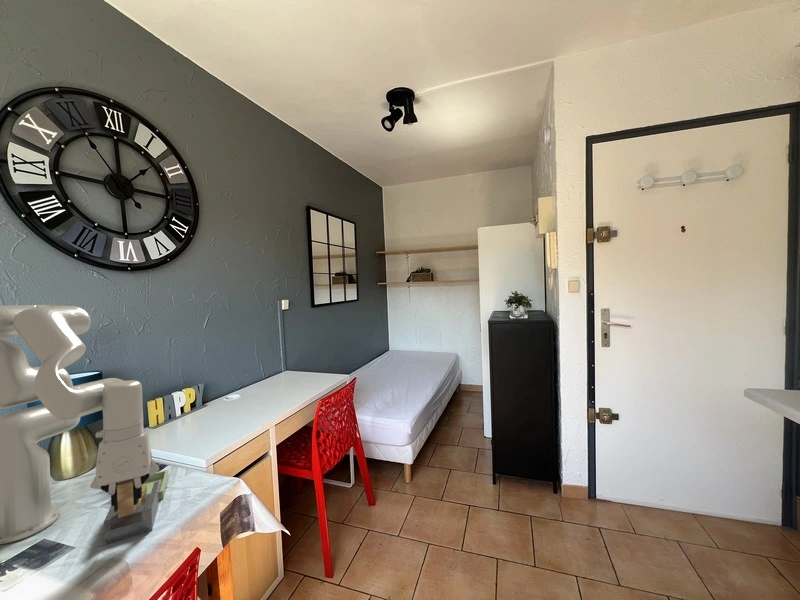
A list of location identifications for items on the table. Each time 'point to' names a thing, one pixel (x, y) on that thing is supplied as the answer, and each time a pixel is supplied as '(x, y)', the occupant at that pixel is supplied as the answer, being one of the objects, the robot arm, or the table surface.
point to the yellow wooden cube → (141, 500)
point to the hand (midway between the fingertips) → (127, 503)
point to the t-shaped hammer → (126, 506)
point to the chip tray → (156, 477)
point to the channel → (134, 528)
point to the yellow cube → (144, 489)
